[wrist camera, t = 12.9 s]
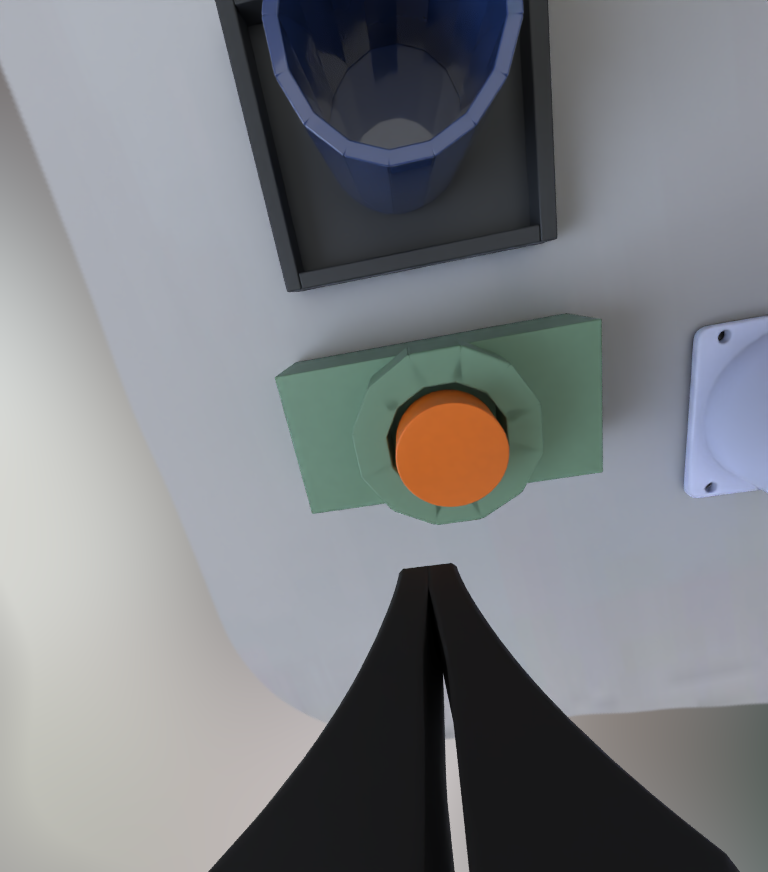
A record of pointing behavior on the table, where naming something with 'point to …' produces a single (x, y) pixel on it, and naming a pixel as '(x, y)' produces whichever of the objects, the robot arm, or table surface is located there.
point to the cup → (392, 86)
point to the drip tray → (415, 231)
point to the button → (450, 448)
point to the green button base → (448, 370)
